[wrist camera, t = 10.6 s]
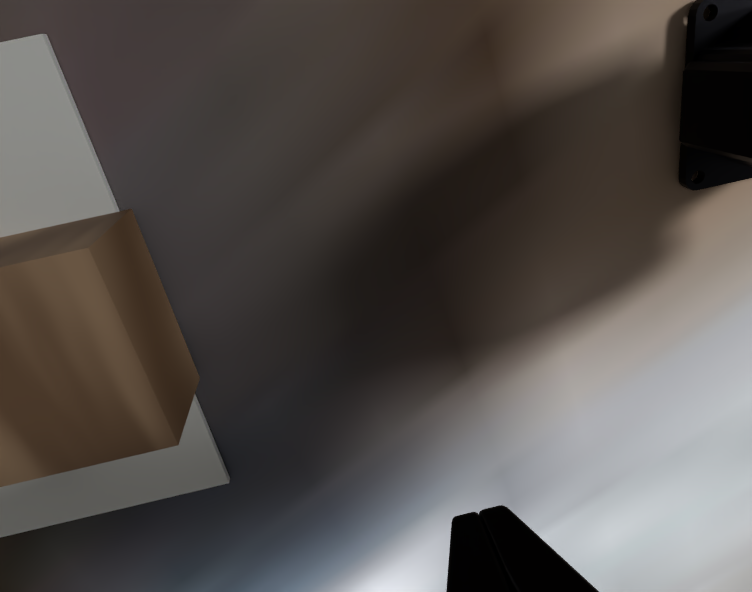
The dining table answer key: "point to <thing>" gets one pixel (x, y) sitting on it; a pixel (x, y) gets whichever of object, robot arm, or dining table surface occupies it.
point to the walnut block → (86, 350)
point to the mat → (54, 207)
